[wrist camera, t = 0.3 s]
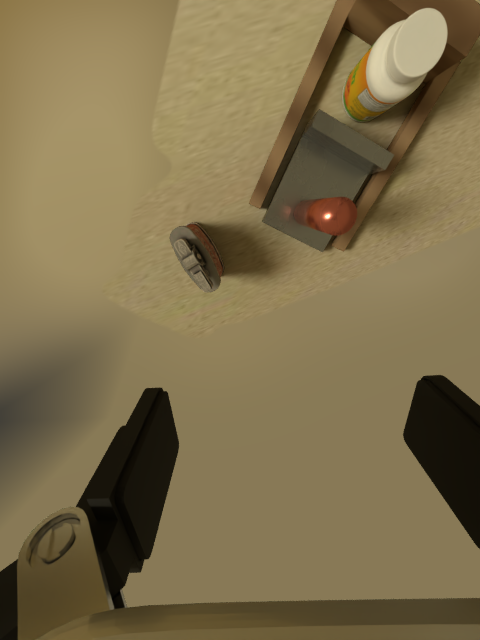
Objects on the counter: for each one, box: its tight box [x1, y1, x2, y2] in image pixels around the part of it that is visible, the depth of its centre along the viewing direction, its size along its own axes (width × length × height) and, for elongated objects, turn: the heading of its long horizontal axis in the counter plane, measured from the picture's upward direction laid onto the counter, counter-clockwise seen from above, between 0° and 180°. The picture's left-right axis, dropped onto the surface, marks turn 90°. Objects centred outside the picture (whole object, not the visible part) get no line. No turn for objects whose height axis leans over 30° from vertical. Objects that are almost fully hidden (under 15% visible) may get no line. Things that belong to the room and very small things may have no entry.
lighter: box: [170, 222, 224, 292], centre depth 31 cm, size 8×3×10 cm, turn 29°
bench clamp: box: [249, 0, 480, 252], centre depth 28 cm, size 22×14×6 cm, turn 155°
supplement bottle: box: [342, 8, 447, 122], centre depth 24 cm, size 5×5×10 cm
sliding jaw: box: [262, 109, 394, 252], centre depth 26 cm, size 12×9×13 cm
